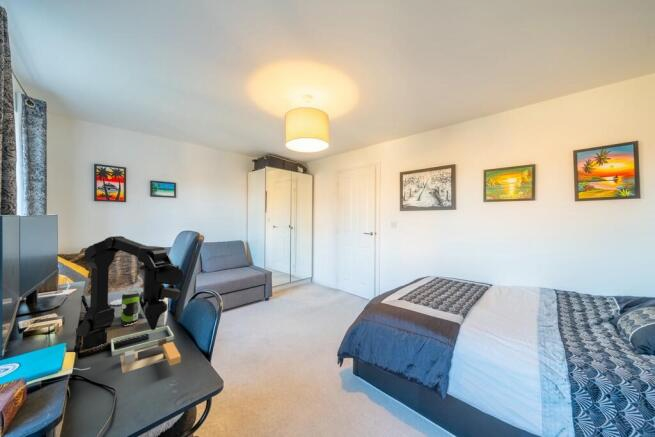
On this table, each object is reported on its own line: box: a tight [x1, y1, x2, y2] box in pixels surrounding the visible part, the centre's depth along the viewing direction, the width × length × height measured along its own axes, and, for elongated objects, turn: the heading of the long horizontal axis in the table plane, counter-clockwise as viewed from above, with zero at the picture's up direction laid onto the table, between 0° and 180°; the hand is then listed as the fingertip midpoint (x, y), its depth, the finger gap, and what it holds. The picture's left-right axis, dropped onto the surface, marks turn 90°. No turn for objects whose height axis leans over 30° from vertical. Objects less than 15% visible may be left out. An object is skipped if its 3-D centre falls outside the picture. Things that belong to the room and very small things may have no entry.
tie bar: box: [163, 341, 182, 366], centre depth 83 cm, size 3×12×2 cm, turn 43°
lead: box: [123, 345, 163, 365], centre depth 88 cm, size 14×3×3 cm, turn 133°
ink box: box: [156, 297, 169, 328], centre depth 117 cm, size 8×5×12 cm, turn 25°
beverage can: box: [120, 290, 140, 326], centre depth 114 cm, size 6×6×15 cm
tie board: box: [119, 337, 172, 374], centre depth 88 cm, size 16×13×4 cm
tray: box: [110, 325, 175, 357], centre depth 98 cm, size 19×12×2 cm, turn 133°
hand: (151, 325), depth 88 cm, fingers open, 9 cm apart
